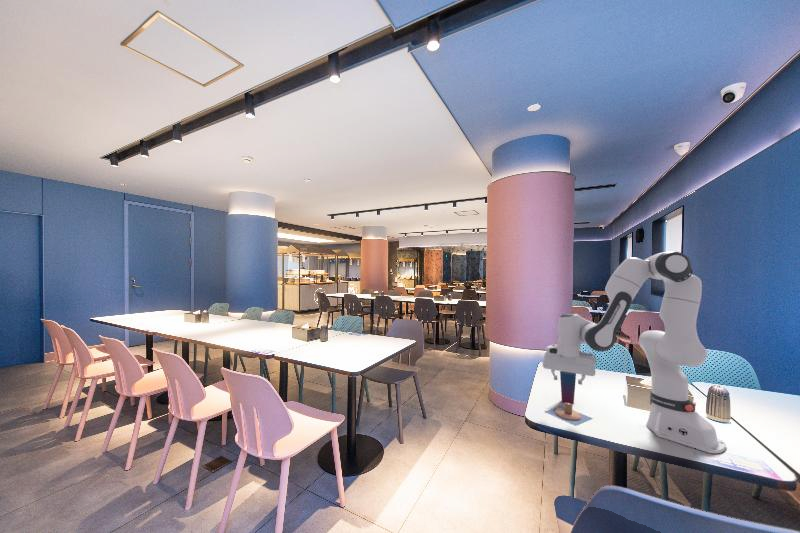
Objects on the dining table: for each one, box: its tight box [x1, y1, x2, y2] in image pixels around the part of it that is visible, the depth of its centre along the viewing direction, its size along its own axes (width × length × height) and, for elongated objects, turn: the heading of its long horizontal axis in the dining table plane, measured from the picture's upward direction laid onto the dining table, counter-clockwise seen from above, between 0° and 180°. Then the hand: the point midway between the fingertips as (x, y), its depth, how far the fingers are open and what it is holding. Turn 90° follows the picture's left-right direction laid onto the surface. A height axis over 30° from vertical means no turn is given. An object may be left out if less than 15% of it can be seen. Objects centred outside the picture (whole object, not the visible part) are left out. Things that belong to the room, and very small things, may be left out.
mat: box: [544, 405, 594, 427], centre depth 133 cm, size 14×13×1 cm
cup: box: [559, 371, 577, 405], centre depth 147 cm, size 7×7×15 cm
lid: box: [555, 402, 582, 421], centre depth 133 cm, size 10×10×5 cm
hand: (567, 381), depth 133 cm, fingers open, 8 cm apart
